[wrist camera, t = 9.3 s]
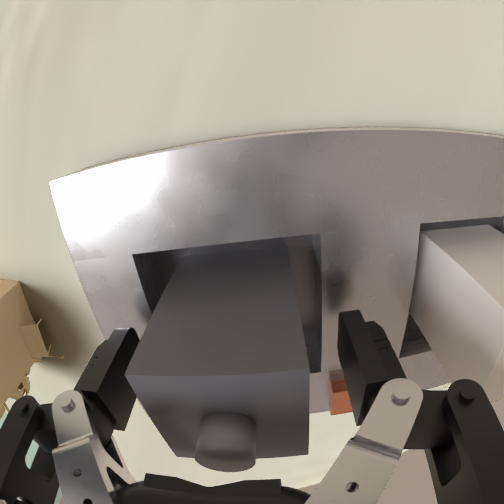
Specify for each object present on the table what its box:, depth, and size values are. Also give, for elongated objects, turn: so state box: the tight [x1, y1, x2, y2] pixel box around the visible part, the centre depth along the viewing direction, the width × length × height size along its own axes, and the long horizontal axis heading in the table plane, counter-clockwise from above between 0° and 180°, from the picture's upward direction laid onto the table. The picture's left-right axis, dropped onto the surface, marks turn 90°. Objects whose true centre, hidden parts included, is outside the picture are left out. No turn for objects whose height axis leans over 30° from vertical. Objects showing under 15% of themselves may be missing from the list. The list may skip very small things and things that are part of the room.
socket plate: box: [50, 127, 504, 417], centre depth 12 cm, size 14×24×3 cm, turn 97°
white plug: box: [409, 225, 504, 403], centre depth 9 cm, size 5×5×8 cm
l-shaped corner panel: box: [0, 413, 62, 504], centre depth 23 cm, size 12×12×8 cm
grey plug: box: [124, 245, 310, 472], centre depth 10 cm, size 5×5×8 cm
